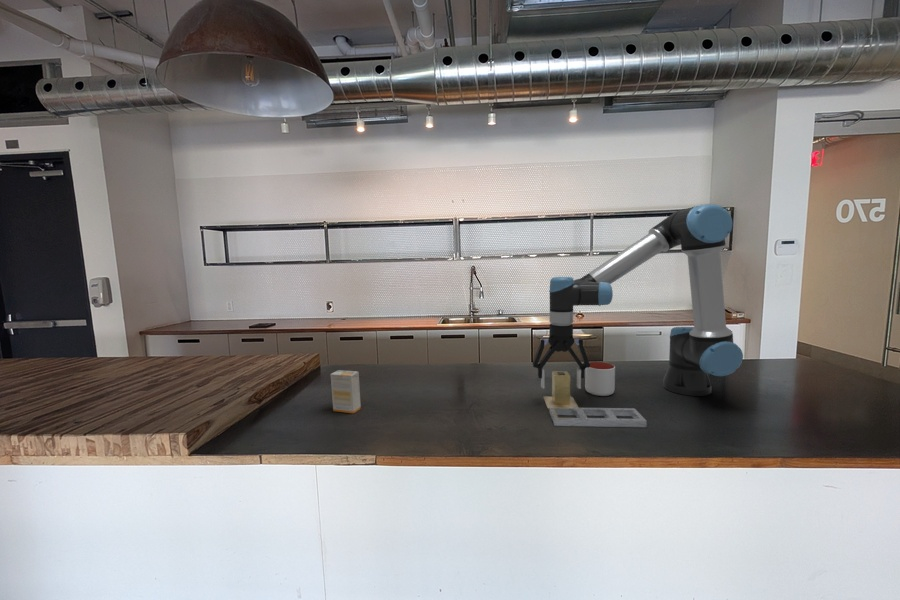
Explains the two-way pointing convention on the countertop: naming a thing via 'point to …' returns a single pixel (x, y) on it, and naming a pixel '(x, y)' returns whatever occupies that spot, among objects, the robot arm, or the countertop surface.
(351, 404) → the supplement box
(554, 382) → the tall beige post
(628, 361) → the countertop surface
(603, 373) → the cup
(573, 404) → the coaster
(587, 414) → the grey slotted tray
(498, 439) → the countertop surface
